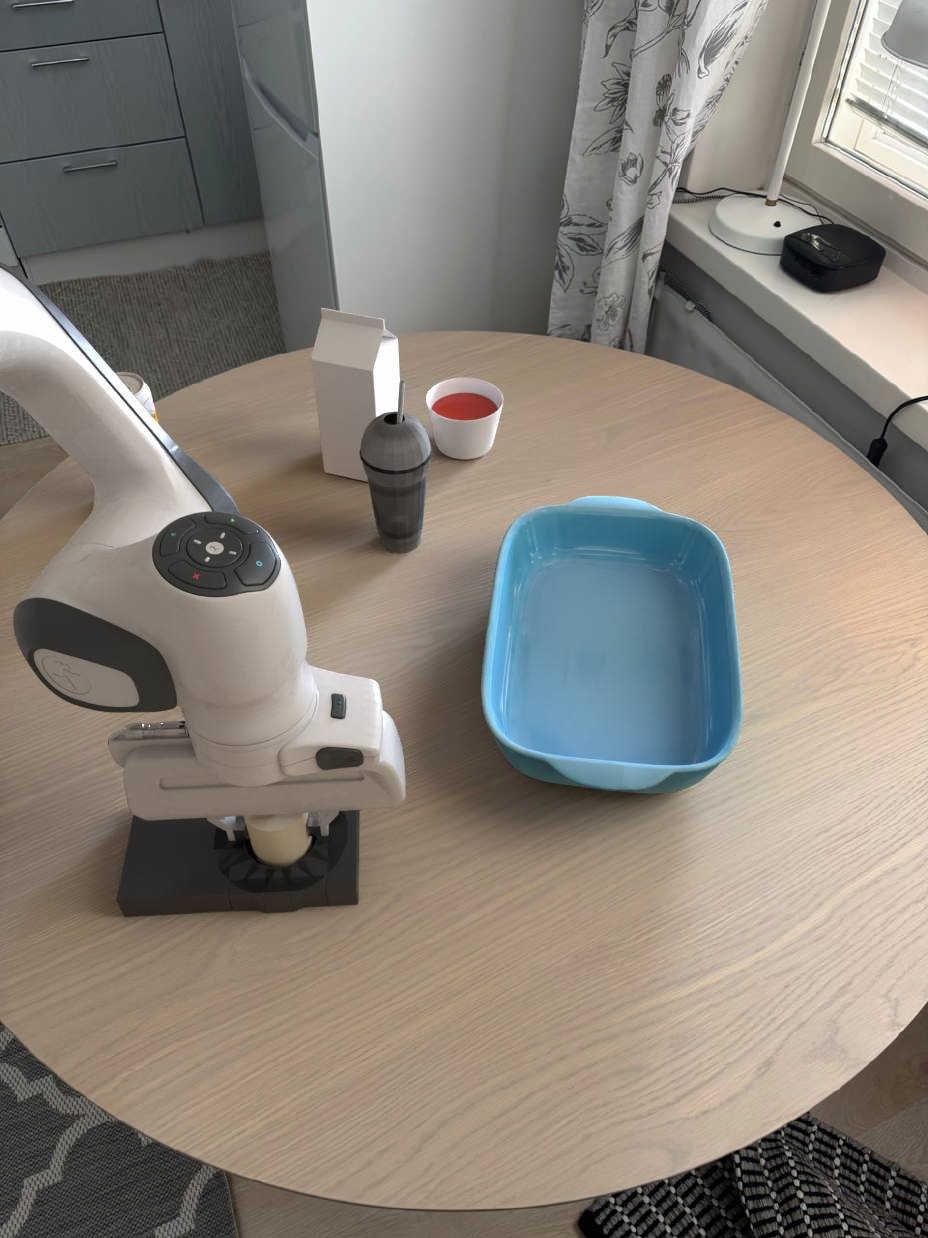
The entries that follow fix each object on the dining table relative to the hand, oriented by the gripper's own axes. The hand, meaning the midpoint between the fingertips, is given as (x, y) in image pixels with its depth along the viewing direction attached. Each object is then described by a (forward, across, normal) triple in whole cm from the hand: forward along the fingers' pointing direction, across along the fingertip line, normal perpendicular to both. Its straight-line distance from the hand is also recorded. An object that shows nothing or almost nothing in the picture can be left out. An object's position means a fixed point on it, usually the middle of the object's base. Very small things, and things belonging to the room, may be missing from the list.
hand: (280, 830), depth 78 cm
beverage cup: (+3, +10, +38) cm, 39 cm away
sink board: (+3, -3, 0) cm, 4 cm away
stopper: (+2, 0, 0) cm, 2 cm away
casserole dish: (+3, +29, +18) cm, 34 cm away
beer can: (+3, -18, +46) cm, 50 cm away
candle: (+3, +18, +55) cm, 58 cm away
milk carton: (+3, +6, +52) cm, 52 cm away
